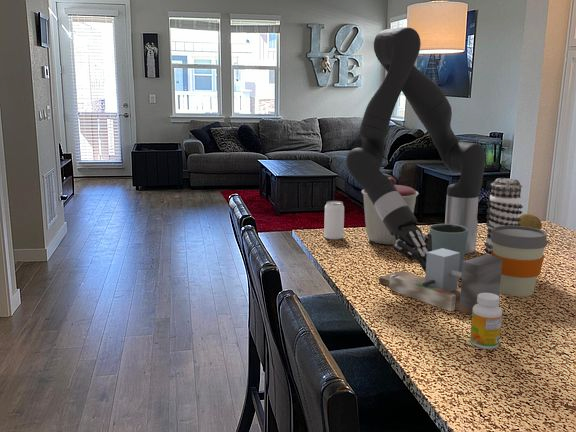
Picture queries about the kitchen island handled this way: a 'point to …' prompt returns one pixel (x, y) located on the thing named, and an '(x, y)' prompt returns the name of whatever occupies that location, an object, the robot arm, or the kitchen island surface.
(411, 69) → the robot arm
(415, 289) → the track
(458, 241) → the teal gray cup
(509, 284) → the reusable coffee cup
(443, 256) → the block
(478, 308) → the supplement bottle
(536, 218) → the potato
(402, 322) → the kitchen island surface
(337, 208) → the can
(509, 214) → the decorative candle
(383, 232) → the canister
